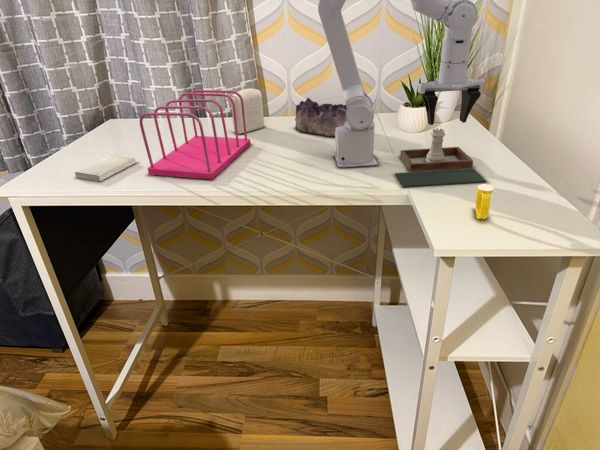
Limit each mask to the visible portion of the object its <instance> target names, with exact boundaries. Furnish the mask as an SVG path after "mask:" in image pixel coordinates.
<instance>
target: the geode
mask: <svg viewBox="0 0 600 450" xmlns="http://www.w3.org/2000/svg"><path fill="white" fill-rule="evenodd" d="M346 112H347V106H346V104H344V103H337V104H336V103H335V104H332V103H323V104H320V103H318V102H317V101H313V100H312V99H311V98H310V97H307V98H306V99H305V101H304V100H301V101H300V102H299V104H296V105H295V118H294V121H295V129H296V130H298V131H299V132H301V133H309V134H316V135H320V136H321V135H323V136H326V137H335V129H336V128H337V127H342V126H344V123H345V122H346V121H347V120H346Z"/></svg>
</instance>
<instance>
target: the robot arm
mask: <svg viewBox="0 0 600 450" xmlns="http://www.w3.org/2000/svg"><path fill="white" fill-rule="evenodd" d="M346 1H347V0H319V1H318V5H317V12H318V15H319V19H320V22H321V25H322V28H323V31H324V35H325V38H326V41H327V45H328V47H329V51H330V53H331V57H332V60H333V63H334V67H335V70H336V73H337V77H338V80H339V82H340V86H341V89H342V93H343V99H344V103H345V105H346V106H347V112H346V120H347V121H346V122H345V123H344V126H342V127H337V128H336V129H335V136H334V143H335V144H334V158H335V161H336V164H337V167H338V168H352V167H355V168H356V167H369V166H372V167H373V166H378V161H377V160H376V157H375V156H374V149H375V125H376V124H375V122H374V118H375V113H374V109H373V100H372V98H371V97H370V96H369V95H368V94H367V93H366V91H365V87H364V85H363V82H362V79H361V75H360V72H359V69H358V65H357V62H356V58H355V55H354V52H353V48H352V45H351V41H350V37H349V33H348V30H347V27H346V24H345V21H344V17H343V13H342V9H343V7H344V5H345V3H346ZM409 1H410V3H411V8H412V10H413V11H415V12H417V13H419V14H421V15H423V16H425V17H427V18H429V19H432V20H434V21H436V22H438V23H442V22H443V24H444V25H445V26H444V34H443V38H442V46H441V53H440V54H441V55H440V63H439V65H440V66H439V73H438V79H437V80H431V81H426V82H418V85H417V92H418V93H419V94H420V96H421V98H422V101H423V104H424V108H425V112H426V118H427V119H426V120H427V124H428V125H429V126H433V125H434V123H435V116H436V115H435V114H436V108H437V104H438V100H439V96H437V93H439V92H441V93H442V92H457V91H460V92H461V93H460V94H461V101H460V102H461V104H460V110H459V121H460V122H461V123H462V124H464V123H466V122H467V121H468V117H469V115H470V113H471V111H472V110H473V107H474V105H475V104H476V103H477V102H478V100H479V99H480V97H481V95H482V91H484V90H485V86H486V85H485V84H486V80H485V79H482V78H477V79H476V78H475V79H473V78H472V79H471V78H467V73H468V65H469V59H470V51H471V44H472V33H473V28H474V27H475V25H476V24H477V22H478V20H479V16H480V15H479V14H478V10H477V9H478V8H477V7H476V5H475V3H474V2H473V1H471V0H409Z"/></svg>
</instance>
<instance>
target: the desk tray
mask: <svg viewBox="0 0 600 450" xmlns="http://www.w3.org/2000/svg"><path fill="white" fill-rule="evenodd" d="M429 151H430V148H417V149H416V148H413V149H401V150H400V153H399V157H400V159H401V160H402V162H403V163H404V165H405V166H406V167H407V169H408V170H409V172H423V171H440V170H456V169H473V165H474V160H473V159H472V158H471V157H470V156H469V155H468V154H467V153H466V152H465V151H464V150H463V149H462V148H461V147H459V146H447V147H442V151H443V154H444V156H456V157H457V158H458V160H445V161H440V162H426V161H425V162H413V161H412V160H411V158H422V157H423V158H424V157H426V156H427V154H428V152H429Z"/></svg>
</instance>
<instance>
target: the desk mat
mask: <svg viewBox="0 0 600 450" xmlns="http://www.w3.org/2000/svg"><path fill="white" fill-rule="evenodd" d="M395 176H396V178H397V179H398V181H399V183H400V185H401V186H402V188H415V187H416V188H417V187H432V186H433V187H434V186H446V185H447V186H450V185H464V184H480V183H481V184H484V183H486V182H487V181H486V179H485V178H484V177H483V176H481V174H479V172H477V171H476V170H475V168H460V169H444V170H428V171H411V172H410V171H409V172H395Z"/></svg>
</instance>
